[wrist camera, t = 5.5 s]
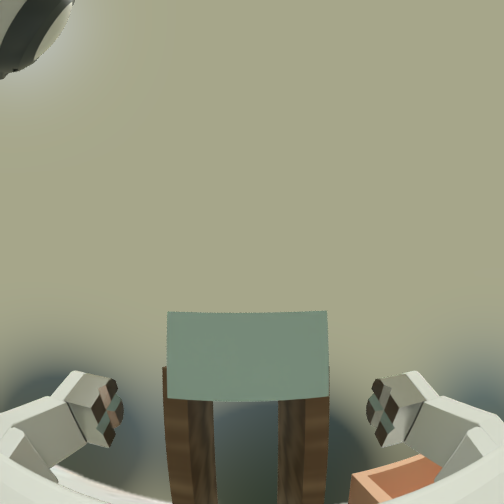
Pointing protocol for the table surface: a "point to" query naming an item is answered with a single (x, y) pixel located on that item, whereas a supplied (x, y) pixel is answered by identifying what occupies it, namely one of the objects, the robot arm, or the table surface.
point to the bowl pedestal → (392, 480)
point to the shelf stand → (289, 449)
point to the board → (247, 356)
